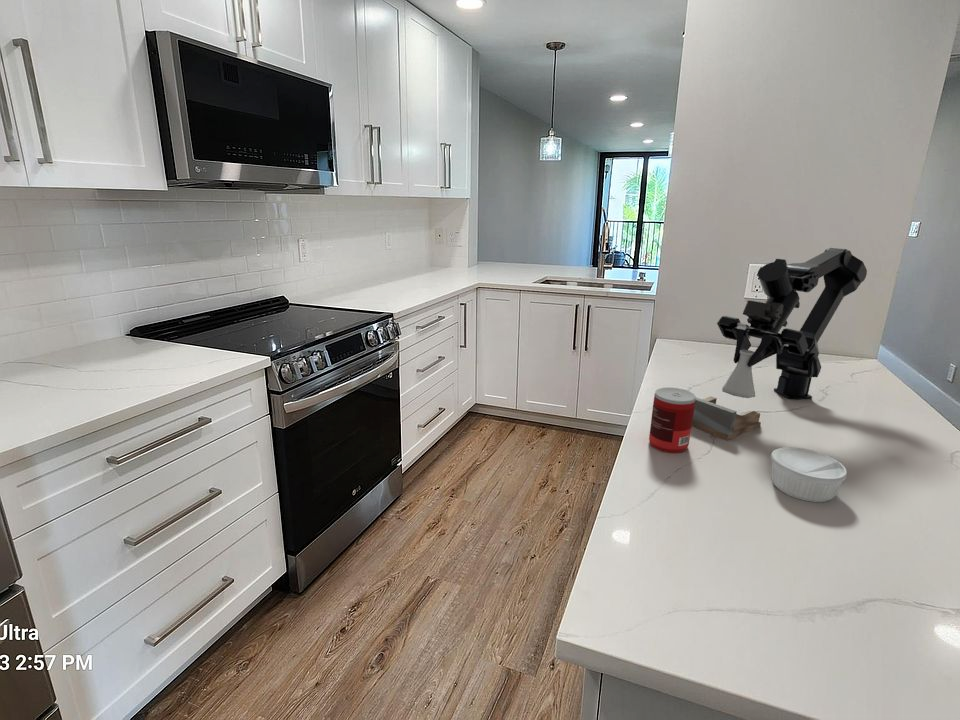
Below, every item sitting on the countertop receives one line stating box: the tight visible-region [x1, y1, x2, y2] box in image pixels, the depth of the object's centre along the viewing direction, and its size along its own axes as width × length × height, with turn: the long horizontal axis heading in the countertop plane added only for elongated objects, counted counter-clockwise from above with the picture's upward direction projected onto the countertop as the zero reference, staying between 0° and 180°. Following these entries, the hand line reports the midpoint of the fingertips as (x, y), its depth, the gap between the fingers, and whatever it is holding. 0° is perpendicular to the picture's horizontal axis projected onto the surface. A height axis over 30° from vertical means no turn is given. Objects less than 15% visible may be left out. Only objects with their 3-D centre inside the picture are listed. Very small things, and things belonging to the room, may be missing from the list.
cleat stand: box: [691, 396, 762, 441], centre depth 118 cm, size 13×13×6 cm
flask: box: [721, 349, 756, 399], centre depth 120 cm, size 7×7×10 cm
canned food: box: [648, 387, 696, 454], centre depth 106 cm, size 8×8×11 cm
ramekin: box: [770, 446, 848, 503], centre depth 92 cm, size 11×11×5 cm
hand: (741, 364), depth 119 cm, fingers closed on flask, 3 cm apart
